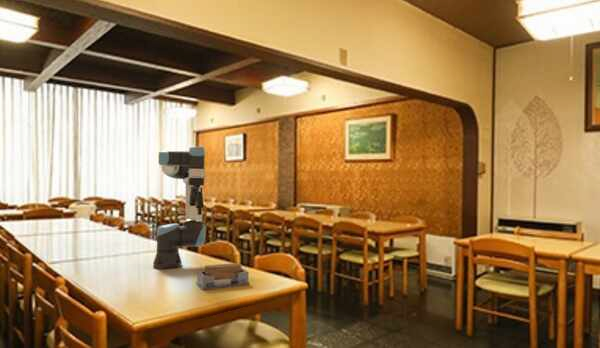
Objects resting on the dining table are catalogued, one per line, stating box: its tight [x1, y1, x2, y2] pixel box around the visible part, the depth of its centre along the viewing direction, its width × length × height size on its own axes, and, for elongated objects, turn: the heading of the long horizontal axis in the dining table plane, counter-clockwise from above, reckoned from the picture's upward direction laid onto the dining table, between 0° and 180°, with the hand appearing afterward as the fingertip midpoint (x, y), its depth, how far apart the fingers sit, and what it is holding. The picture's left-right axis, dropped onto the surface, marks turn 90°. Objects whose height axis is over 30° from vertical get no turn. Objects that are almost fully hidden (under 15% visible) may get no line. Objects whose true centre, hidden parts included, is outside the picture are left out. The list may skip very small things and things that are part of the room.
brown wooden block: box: [204, 262, 242, 280], centre depth 186 cm, size 5×16×6 cm, turn 113°
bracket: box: [196, 266, 250, 291], centre depth 186 cm, size 11×22×6 cm, turn 118°
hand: (195, 220), depth 198 cm, fingers open, 13 cm apart
